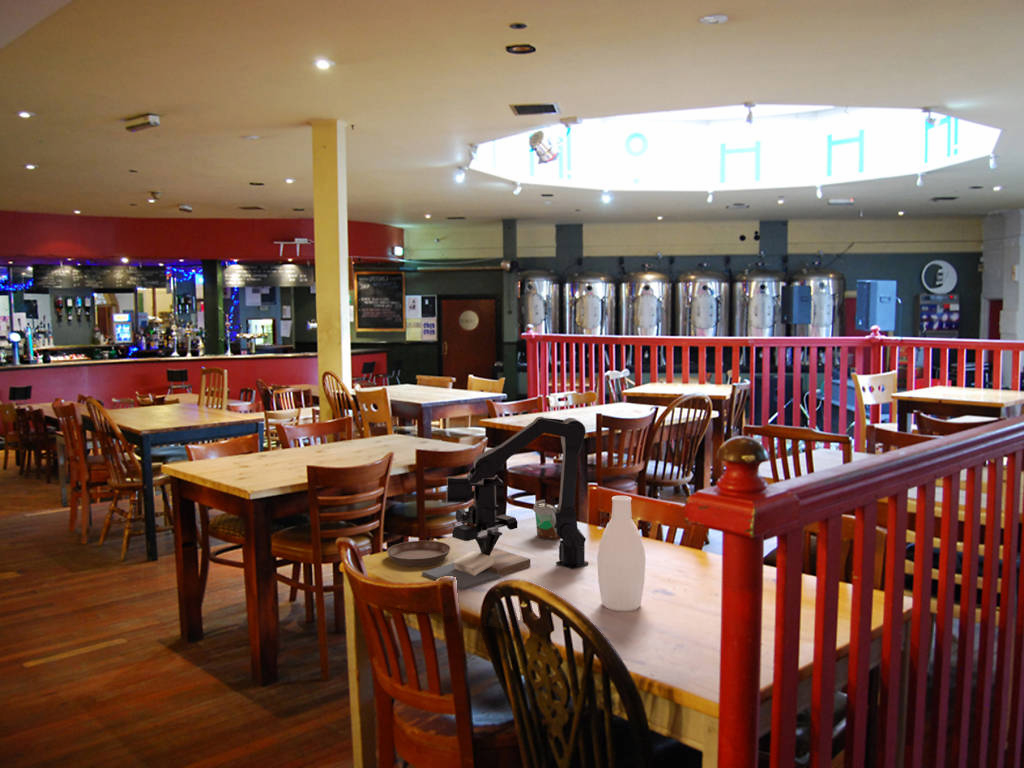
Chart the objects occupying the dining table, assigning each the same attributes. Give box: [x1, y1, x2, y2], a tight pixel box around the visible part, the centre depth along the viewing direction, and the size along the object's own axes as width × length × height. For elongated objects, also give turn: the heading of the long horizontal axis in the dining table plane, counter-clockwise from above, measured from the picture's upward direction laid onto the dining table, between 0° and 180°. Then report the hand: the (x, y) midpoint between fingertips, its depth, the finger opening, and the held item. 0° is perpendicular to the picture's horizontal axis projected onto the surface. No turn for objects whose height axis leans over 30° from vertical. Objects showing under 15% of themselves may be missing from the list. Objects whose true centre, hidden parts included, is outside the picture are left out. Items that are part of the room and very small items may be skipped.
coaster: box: [453, 550, 494, 576], centre depth 209 cm, size 8×7×2 cm
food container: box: [532, 499, 562, 541], centre depth 241 cm, size 12×6×10 cm, turn 25°
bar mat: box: [421, 562, 501, 591], centre depth 206 cm, size 16×13×1 cm
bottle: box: [597, 495, 647, 612], centre depth 184 cm, size 11×11×25 cm
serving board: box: [479, 547, 531, 577], centre depth 215 cm, size 14×12×2 cm
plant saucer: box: [386, 540, 452, 567], centre depth 222 cm, size 18×18×3 cm
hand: (485, 559), depth 212 cm, fingers closed
